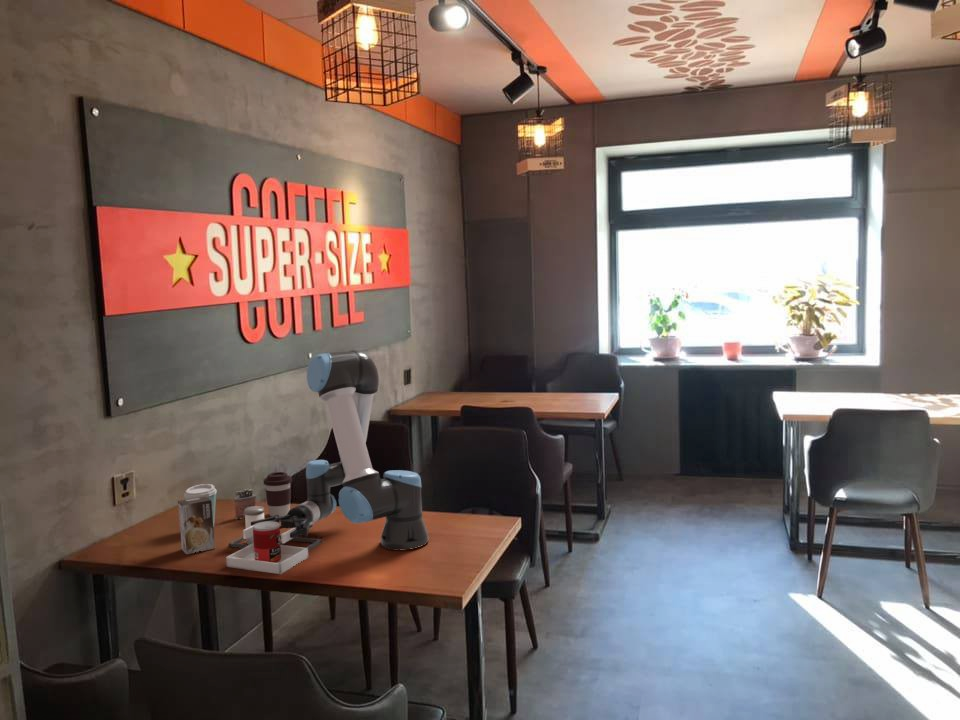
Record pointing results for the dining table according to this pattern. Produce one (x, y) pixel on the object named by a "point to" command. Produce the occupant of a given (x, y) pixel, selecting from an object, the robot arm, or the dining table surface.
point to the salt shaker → (253, 518)
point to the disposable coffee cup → (203, 494)
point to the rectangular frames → (314, 541)
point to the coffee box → (196, 524)
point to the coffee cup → (278, 493)
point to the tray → (248, 562)
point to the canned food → (267, 541)
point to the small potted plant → (244, 502)
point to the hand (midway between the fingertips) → (263, 536)
